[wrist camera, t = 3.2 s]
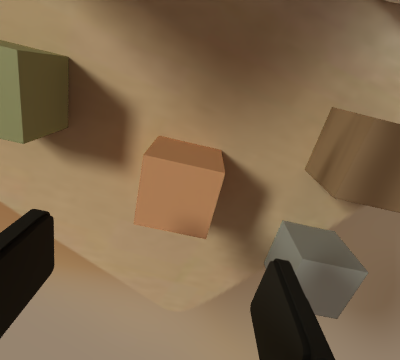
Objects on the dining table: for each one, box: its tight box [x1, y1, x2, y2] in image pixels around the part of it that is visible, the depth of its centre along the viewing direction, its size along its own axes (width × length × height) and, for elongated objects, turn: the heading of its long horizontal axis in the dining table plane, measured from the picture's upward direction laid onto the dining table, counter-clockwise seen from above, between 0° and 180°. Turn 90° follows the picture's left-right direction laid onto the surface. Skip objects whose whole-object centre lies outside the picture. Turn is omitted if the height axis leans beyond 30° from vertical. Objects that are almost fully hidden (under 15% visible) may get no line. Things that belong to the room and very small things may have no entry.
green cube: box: [0, 40, 69, 144], centre depth 15 cm, size 5×5×5 cm
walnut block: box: [305, 107, 400, 213], centre depth 16 cm, size 5×5×5 cm
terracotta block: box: [134, 136, 225, 239], centre depth 18 cm, size 5×5×5 cm
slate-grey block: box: [264, 221, 368, 319], centre depth 20 cm, size 5×5×5 cm
